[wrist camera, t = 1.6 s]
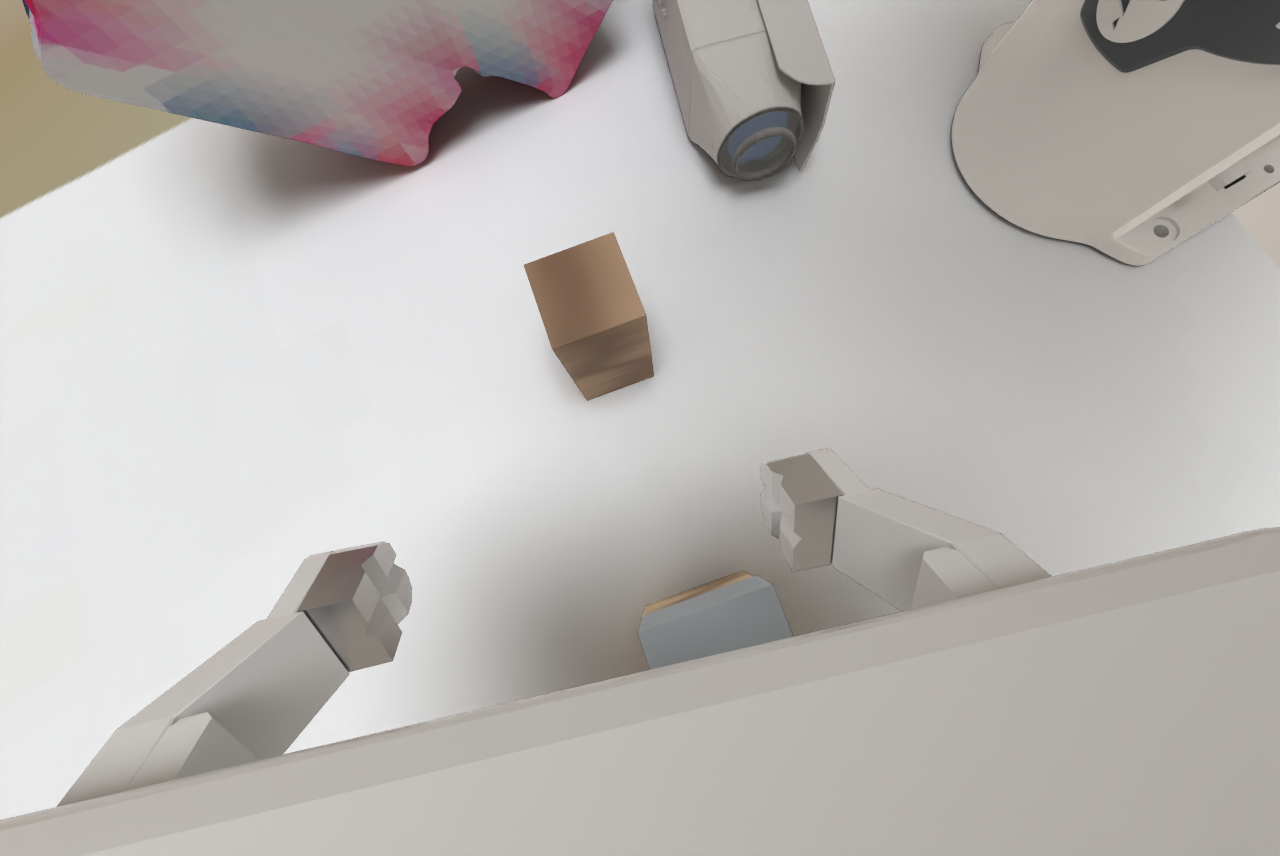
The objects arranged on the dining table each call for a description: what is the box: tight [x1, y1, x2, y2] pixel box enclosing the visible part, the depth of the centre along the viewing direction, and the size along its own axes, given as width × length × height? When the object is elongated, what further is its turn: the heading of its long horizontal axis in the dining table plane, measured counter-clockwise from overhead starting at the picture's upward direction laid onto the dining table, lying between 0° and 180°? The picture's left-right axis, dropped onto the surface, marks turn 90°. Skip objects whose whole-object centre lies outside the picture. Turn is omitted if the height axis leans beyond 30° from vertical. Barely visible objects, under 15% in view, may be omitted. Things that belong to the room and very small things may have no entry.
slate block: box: [638, 575, 793, 670], centre depth 21 cm, size 6×6×4 cm
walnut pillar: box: [524, 232, 654, 401], centre depth 26 cm, size 4×4×9 cm
